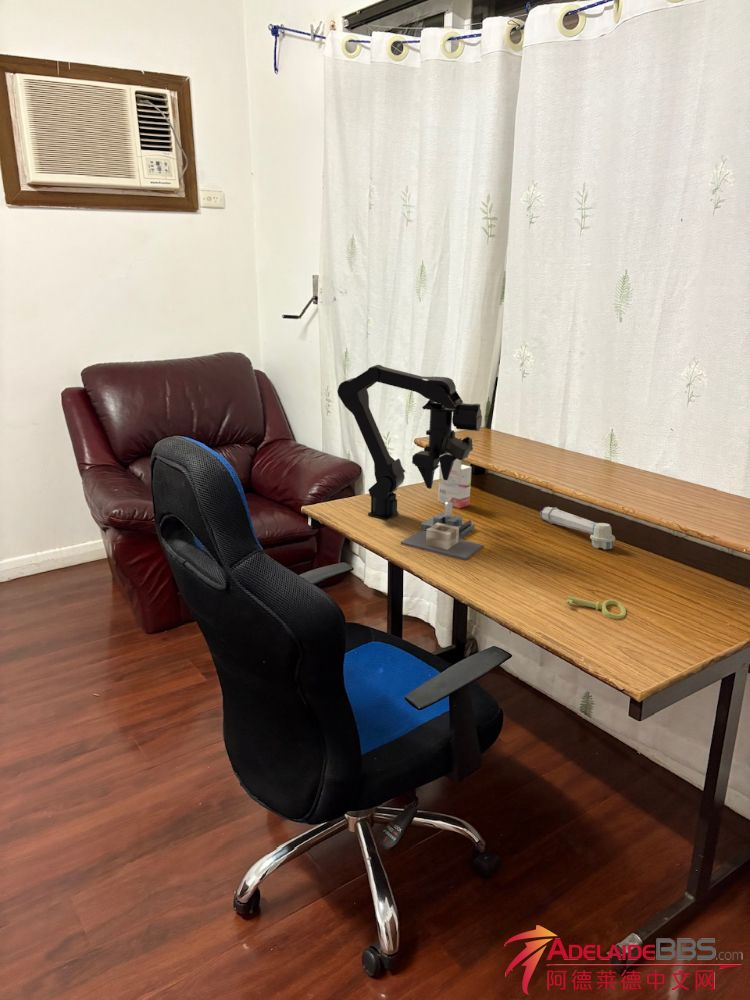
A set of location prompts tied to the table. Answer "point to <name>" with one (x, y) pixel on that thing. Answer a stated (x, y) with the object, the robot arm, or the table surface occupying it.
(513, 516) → the table surface
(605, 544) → the grey pipe fitting
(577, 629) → the table surface
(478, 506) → the table surface
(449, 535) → the collar
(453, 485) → the ink cartridge box
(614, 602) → the key
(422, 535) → the charcoal mat
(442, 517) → the vise
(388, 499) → the robot arm
